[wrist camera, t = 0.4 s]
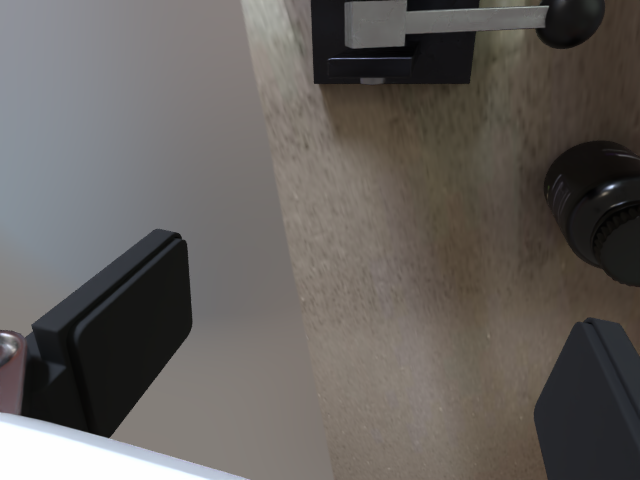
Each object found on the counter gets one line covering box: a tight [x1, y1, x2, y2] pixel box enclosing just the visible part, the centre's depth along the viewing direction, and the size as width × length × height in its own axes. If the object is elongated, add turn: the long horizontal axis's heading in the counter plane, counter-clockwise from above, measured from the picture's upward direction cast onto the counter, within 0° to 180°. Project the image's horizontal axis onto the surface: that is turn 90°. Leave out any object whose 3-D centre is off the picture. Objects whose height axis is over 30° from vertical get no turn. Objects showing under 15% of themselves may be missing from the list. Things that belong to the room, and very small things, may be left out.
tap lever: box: [345, 0, 605, 49], centre depth 24 cm, size 14×3×3 cm, turn 92°
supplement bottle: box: [544, 141, 640, 287], centre depth 30 cm, size 7×7×12 cm
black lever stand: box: [311, 0, 480, 85], centre depth 27 cm, size 12×9×13 cm
